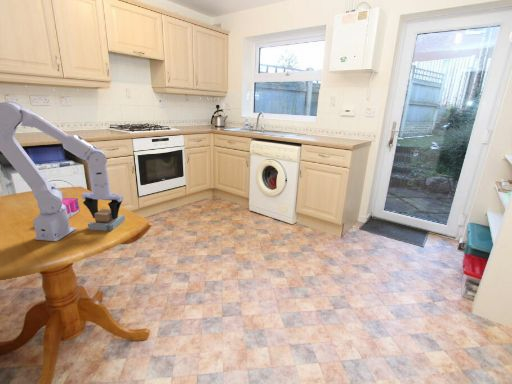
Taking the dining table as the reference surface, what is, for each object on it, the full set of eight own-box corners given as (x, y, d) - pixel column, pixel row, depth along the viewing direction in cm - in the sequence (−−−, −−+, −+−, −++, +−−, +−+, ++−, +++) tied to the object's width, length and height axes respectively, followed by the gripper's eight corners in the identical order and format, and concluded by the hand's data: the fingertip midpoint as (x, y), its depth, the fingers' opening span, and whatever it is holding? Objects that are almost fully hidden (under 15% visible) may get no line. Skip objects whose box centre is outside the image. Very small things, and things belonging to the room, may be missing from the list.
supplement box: (80, 211, 115) (63, 223, 104) (66, 210, 115) (47, 222, 104) (78, 198, 113) (60, 209, 102) (63, 197, 113) (43, 208, 102)
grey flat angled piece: (110, 231, 99) (110, 225, 98) (88, 229, 100) (87, 223, 99) (125, 220, 108) (124, 215, 107) (104, 218, 109) (104, 213, 108)
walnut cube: (109, 227, 101) (107, 214, 100) (96, 226, 102) (94, 213, 100) (117, 221, 106) (115, 209, 104) (104, 220, 106) (102, 208, 105)
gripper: (125, 181, 102) (129, 214, 106) (88, 178, 103) (94, 212, 107) (114, 187, 95) (119, 222, 99) (75, 184, 96) (81, 219, 100)
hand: (105, 217), depth 103 cm, fingers open, 7 cm apart
